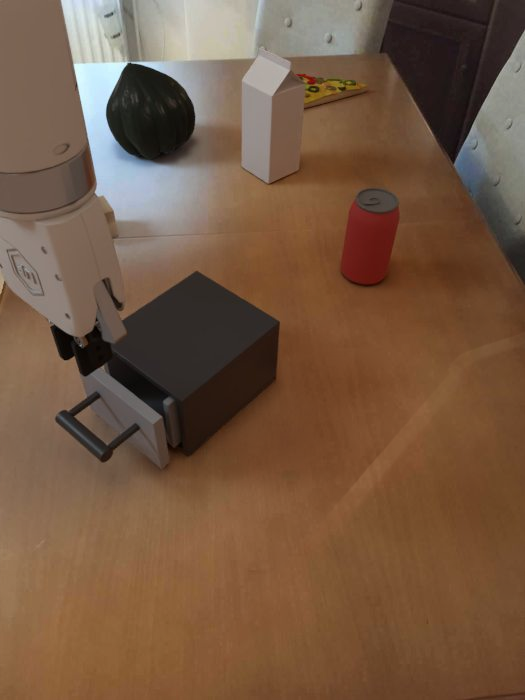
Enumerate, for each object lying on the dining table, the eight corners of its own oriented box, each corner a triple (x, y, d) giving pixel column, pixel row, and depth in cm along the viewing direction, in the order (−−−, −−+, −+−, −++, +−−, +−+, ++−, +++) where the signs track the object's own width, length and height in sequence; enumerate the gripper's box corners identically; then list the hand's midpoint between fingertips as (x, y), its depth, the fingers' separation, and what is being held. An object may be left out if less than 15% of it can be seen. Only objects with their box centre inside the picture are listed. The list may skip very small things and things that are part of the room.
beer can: (331, 263, 86) (342, 190, 77) (371, 253, 88) (385, 181, 79) (354, 291, 82) (367, 218, 73) (395, 280, 84) (413, 207, 75)
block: (89, 244, 88) (83, 218, 84) (79, 228, 90) (73, 202, 87) (118, 236, 89) (113, 210, 86) (108, 220, 92) (103, 195, 89)
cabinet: (188, 457, 63) (182, 401, 56) (111, 395, 69) (96, 337, 62) (276, 379, 71) (280, 321, 64) (200, 328, 76) (196, 270, 69)
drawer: (123, 502, 59) (111, 458, 53) (53, 437, 63) (34, 391, 58) (248, 392, 68) (249, 345, 63) (179, 344, 73) (173, 296, 68)
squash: (217, 130, 101) (181, 41, 98) (137, 157, 95) (96, 63, 92) (191, 154, 114) (158, 76, 111) (119, 179, 108) (83, 97, 105)
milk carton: (268, 185, 100) (273, 68, 86) (241, 167, 103) (241, 53, 90) (299, 171, 103) (308, 56, 89) (271, 154, 107) (276, 42, 93)
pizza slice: (264, 81, 128) (264, 66, 126) (357, 76, 131) (359, 62, 128) (278, 114, 117) (279, 99, 115) (379, 108, 120) (381, 93, 118)
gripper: (-83, 148, 40) (-3, 337, 54) (61, 245, 34) (112, 434, 47) (13, 111, 44) (66, 296, 58) (160, 192, 38) (181, 380, 51)
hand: (86, 357), depth 52 cm, fingers closed
